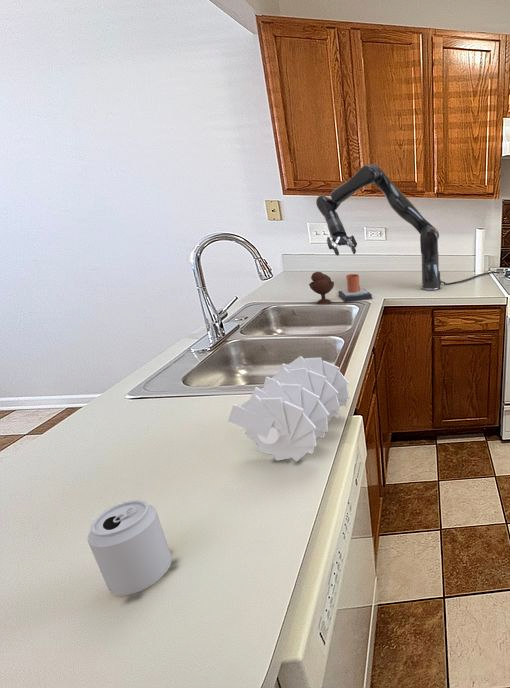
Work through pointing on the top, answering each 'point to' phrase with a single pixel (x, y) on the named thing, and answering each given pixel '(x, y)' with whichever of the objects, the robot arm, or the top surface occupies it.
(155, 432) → the top surface
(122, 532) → the can
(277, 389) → the spiral staircase
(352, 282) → the cup
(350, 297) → the scale
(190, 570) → the top surface
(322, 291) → the ice cream bowl
